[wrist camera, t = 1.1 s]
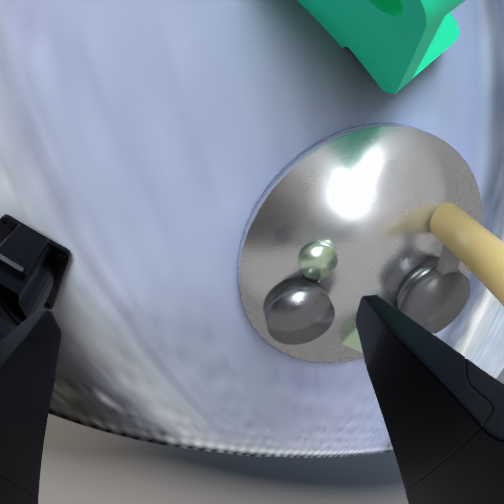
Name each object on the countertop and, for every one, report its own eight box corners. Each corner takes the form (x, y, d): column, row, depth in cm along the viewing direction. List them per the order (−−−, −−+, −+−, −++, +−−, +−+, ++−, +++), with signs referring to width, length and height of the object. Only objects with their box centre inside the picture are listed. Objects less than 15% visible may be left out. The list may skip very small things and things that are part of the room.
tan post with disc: (431, 341, 30) (478, 419, 21) (376, 357, 29) (419, 448, 20) (476, 200, 21) (570, 276, 12) (412, 205, 21) (516, 302, 11)
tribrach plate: (361, 372, 33) (370, 394, 30) (182, 301, 24) (180, 330, 22) (500, 228, 25) (519, 244, 22) (370, 56, 16) (396, 56, 14)
